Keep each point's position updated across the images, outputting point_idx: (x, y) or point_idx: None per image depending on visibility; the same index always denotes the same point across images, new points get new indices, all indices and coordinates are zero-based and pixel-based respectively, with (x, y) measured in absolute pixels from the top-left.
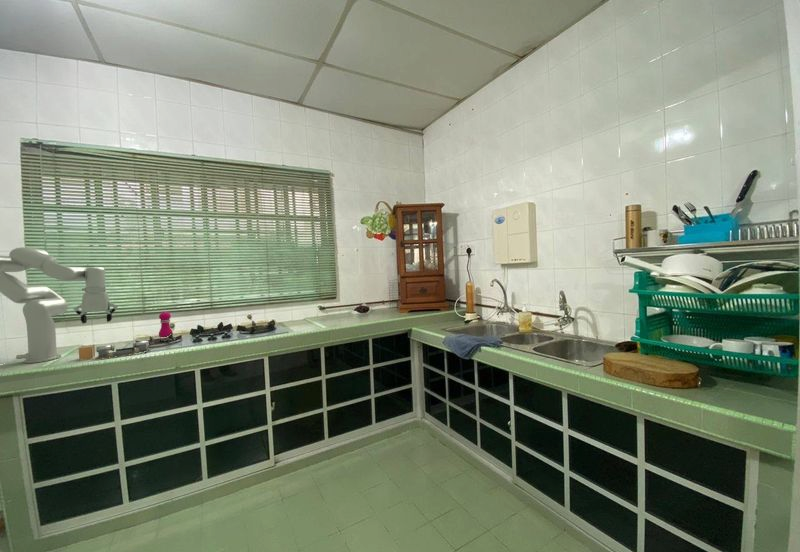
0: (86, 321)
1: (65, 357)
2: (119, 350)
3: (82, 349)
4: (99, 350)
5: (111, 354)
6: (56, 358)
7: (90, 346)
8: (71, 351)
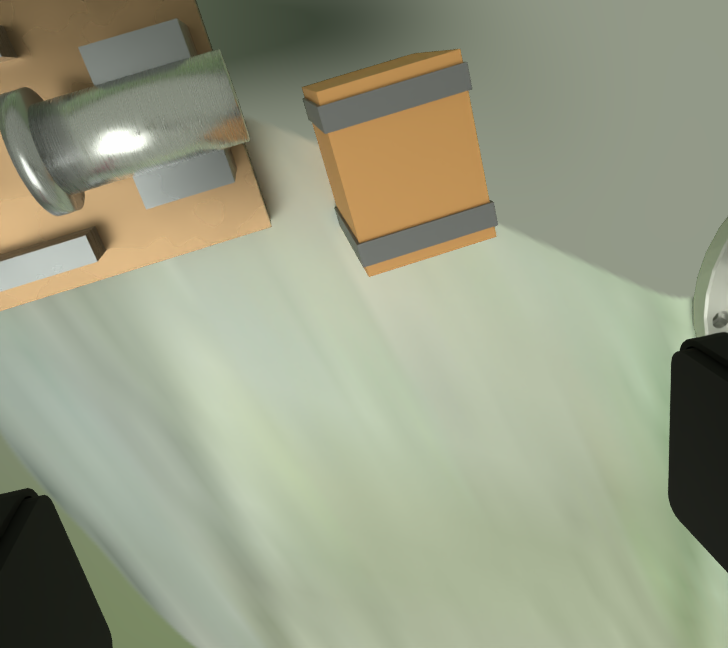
0: (686, 517)
1: (646, 304)
2: (49, 242)
3: (413, 64)
4: (162, 25)
5: (64, 94)
6: (705, 257)
7: (366, 177)
8: (701, 552)
